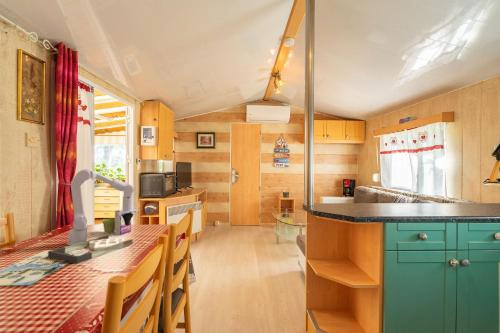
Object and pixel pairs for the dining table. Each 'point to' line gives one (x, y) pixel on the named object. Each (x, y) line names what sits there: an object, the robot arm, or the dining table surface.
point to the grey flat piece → (100, 251)
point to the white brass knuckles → (104, 243)
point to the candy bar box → (121, 225)
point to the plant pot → (109, 225)
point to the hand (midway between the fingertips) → (127, 225)
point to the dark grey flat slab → (68, 256)
